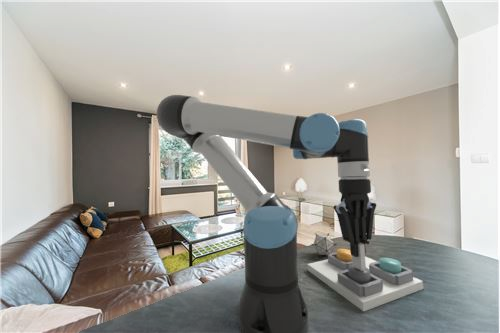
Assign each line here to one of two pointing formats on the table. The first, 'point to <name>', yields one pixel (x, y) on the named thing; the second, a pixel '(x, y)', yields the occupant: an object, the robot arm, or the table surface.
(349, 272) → the charcoal button
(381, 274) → the panel
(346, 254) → the orange button
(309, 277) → the table surface
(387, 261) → the teal button
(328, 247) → the grey spiky polyhedron
